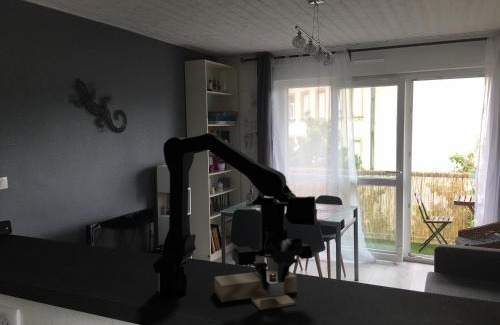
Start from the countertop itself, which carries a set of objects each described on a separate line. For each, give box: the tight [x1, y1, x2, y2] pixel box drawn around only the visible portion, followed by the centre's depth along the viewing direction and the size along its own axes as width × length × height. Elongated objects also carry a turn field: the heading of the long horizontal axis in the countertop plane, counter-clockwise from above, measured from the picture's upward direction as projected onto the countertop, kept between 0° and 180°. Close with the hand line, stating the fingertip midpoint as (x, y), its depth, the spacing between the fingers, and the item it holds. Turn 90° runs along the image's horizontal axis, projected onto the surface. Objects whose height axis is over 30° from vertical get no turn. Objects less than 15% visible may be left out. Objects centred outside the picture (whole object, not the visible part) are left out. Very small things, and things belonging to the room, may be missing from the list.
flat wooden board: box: [250, 293, 296, 311], centre depth 99 cm, size 9×6×1 cm, turn 109°
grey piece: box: [262, 273, 284, 297], centre depth 98 cm, size 4×6×4 cm, turn 19°
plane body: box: [214, 269, 298, 303], centre depth 105 cm, size 20×7×6 cm, turn 109°
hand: (272, 288), depth 98 cm, fingers closed on grey piece, 3 cm apart
